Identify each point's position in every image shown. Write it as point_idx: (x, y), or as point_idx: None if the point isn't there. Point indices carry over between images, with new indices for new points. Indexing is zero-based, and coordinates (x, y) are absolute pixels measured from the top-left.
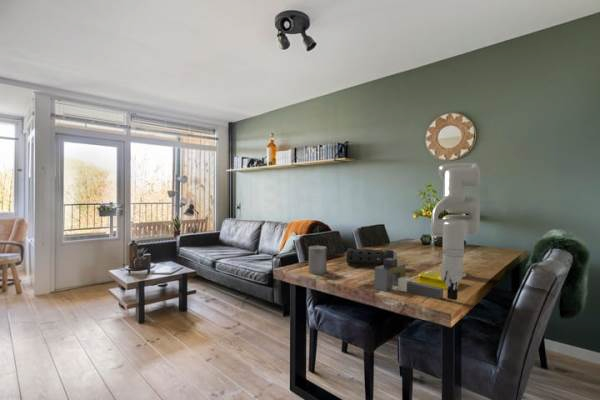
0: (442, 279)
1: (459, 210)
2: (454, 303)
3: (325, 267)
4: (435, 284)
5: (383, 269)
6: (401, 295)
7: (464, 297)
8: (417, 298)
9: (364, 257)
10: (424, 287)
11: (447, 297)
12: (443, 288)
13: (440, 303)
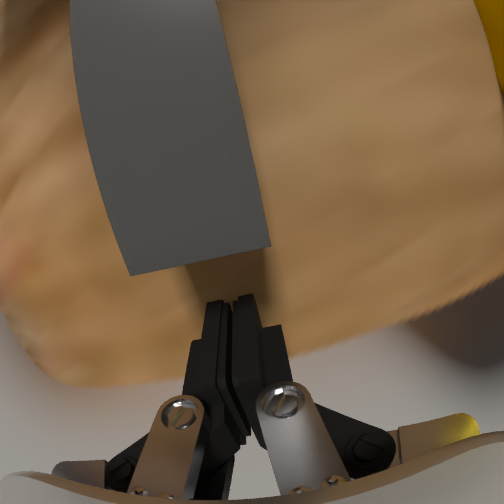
0: (9, 497)
1: None
2: None
3: None
4: (491, 5)
5: None
6: (5, 13)
7: (429, 293)
8: (24, 101)
9: None
10: (79, 26)
11: (207, 304)
12: (497, 72)
13: (98, 288)
